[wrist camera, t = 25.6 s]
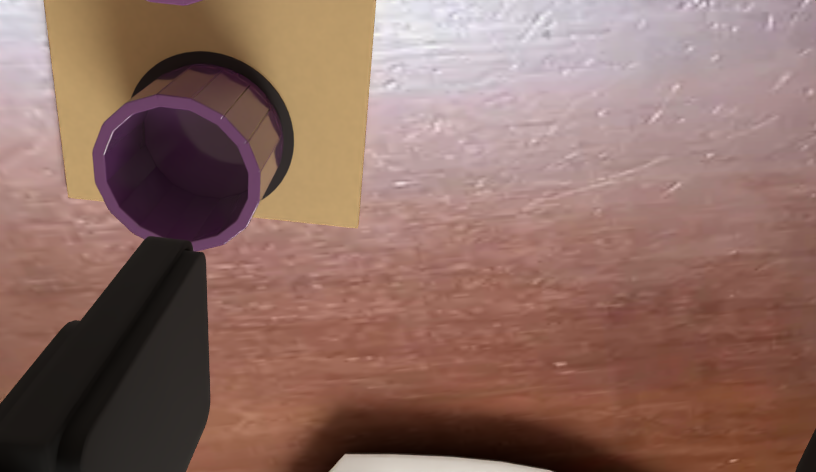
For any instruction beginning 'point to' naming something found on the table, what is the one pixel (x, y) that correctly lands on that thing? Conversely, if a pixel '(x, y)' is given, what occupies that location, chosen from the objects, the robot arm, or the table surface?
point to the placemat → (243, 53)
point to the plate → (426, 463)
